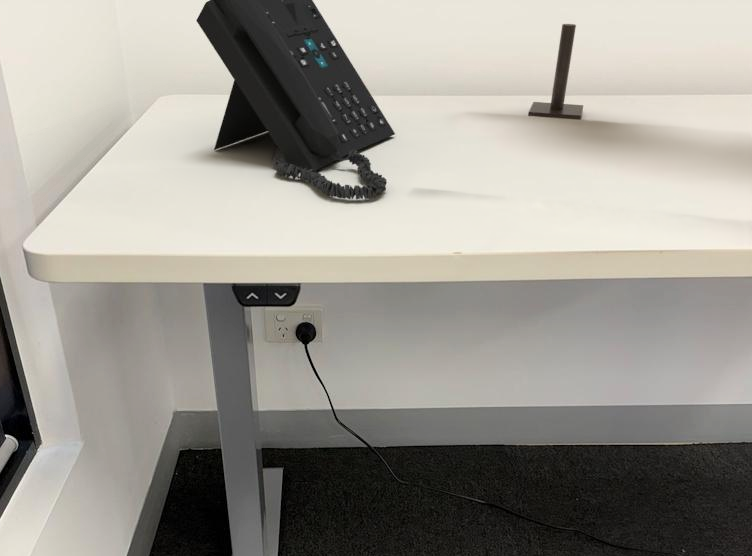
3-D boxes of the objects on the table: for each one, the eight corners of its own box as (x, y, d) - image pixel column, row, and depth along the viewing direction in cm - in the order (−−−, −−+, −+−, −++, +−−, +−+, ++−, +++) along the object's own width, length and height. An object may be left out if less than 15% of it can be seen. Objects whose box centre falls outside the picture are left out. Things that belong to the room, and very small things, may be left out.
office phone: (364, 207, 81) (368, -5, 70) (163, 168, 93) (139, -19, 82) (468, 147, 102) (484, -22, 91) (294, 122, 114) (289, -31, 103)
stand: (582, 111, 122) (597, 22, 115) (580, 122, 116) (595, 29, 109) (532, 108, 124) (544, 20, 117) (527, 118, 118) (539, 26, 111)
